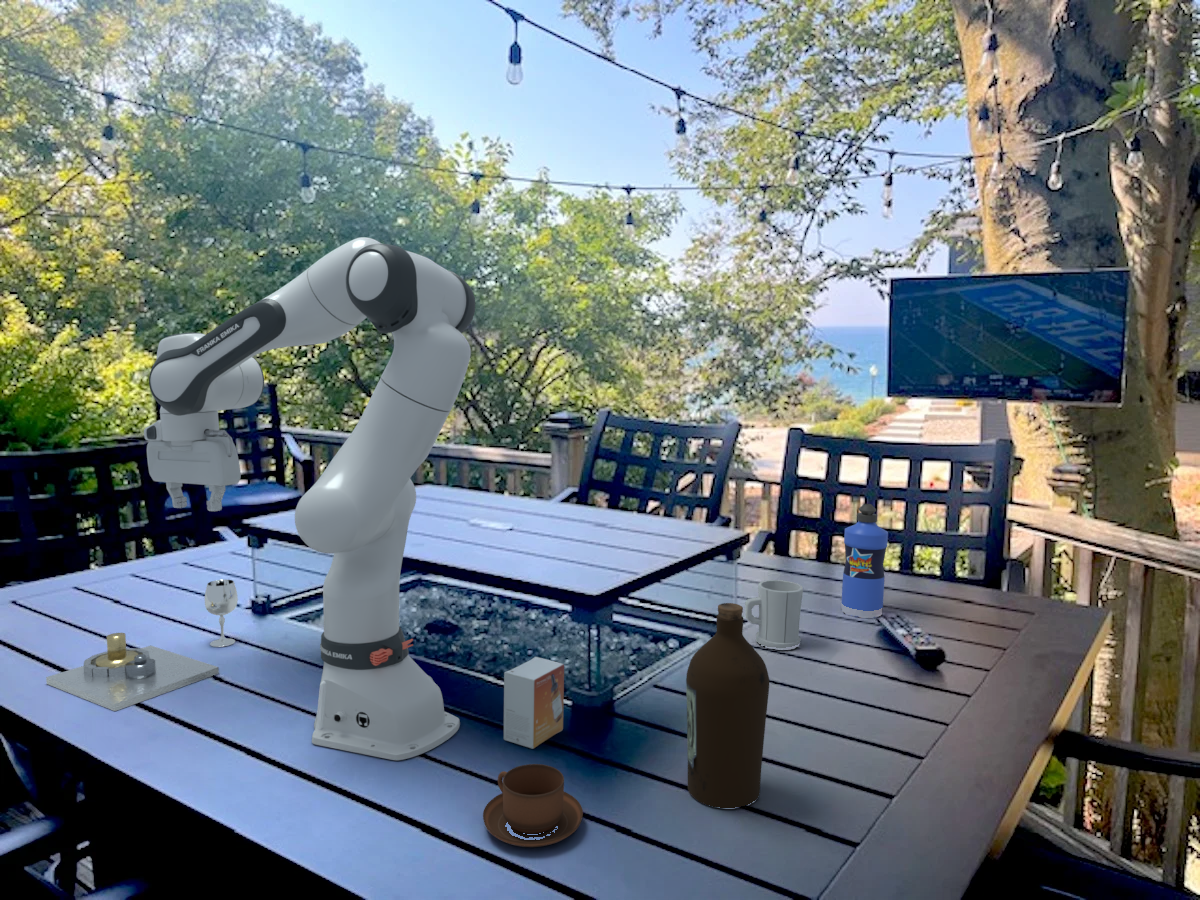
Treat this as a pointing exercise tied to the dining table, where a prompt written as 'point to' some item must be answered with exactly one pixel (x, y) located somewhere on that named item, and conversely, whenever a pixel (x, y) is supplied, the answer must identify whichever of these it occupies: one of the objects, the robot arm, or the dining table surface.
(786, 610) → the cup
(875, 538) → the water bottle
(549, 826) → the cup and saucer
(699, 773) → the olive oil
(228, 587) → the wineglass
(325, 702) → the robot arm
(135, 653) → the brass flanged cylinder
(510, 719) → the small box
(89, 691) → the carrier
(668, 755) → the dining table surface
